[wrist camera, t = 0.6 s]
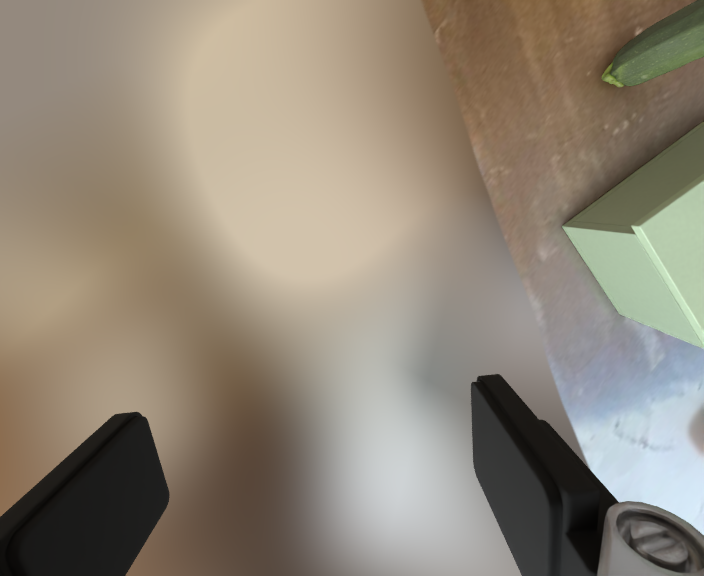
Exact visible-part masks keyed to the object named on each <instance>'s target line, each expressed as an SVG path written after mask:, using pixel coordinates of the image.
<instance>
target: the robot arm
mask: <svg viewBox="0 0 704 576" xmlns="http://www.w3.org/2000/svg"><path fill="white" fill-rule="evenodd" d="M471 402H472V403H471V404H472V436H473V462H474V469H475V473H476V476H477V478H478V481H479V483H480V485H481V487H482V489H483V491H484V494H485V496H486V498H487V500H488V502H489V504H490V507H491V509H492V511H493V513H494V516H495V518H496V519H497V522H498V524H499V526H500V529H501V531H502V533H503V535H504V537H505V540H506V542H507V544H508V546H509V548H510V551H511V553H512V555H513V557H514V559H515V561H516V564H517V566H518V568H519V570H520V572H521V575H522V576H704V535H702V534H701V533H700V532H699V531H698V530H697V529H695V528H694V527H693V526H692V525H691V524H689V523H688V522H686V521H684V520H683V519H681V518H680V517H678V516H676V515H675V514H673V513H671V512H668V511H666V510H664V509H662V508H659V507H657V506H653V505H650V504H646V503H642V502H632V501H626V502H620V503H619V502H618V501H617V500H616V499H615V497H614V496H613V495H612V494H611V493H610V492H609V491H608V490H607V488H606V487H605V486H604V485H603V484H602V483H601V482H600V481H599V479H598V478H597V477H596V476H595V475H594V474H593V473H592V472H591V470H590V469H589V468H588V467H587V466H586V465H585V464H584V463H583V461H582V460H581V459H580V458H579V457H578V456H577V455H576V454H575V453H574V452H573V451H572V449H571V448H570V447H569V446H568V445H567V444H566V442H565V441H564V440H563V439H562V438H561V437H560V436H559V435H558V433H557V432H556V431H555V430H554V429H553V428H552V427H551V426H550V424H548V423H547V422H546V421H544V420H539V419H537V417H536V416H535V415H534V414H533V412H532V411H531V410H530V409H529V408H528V406H527V405H526V404H525V403H524V402H523V401H522V399H521V398H520V397H519V396H518V395H517V394H516V393H515V391H514V390H513V389H512V388H511V387H510V386H509V384H508V383H507V382H506V381H505V380H504V379H503V377H502V376H501V375H499V374H495V375H485V376H479V377H477V382H472V383H471ZM168 502H169V490H168V487H167V483H166V480H165V477H164V473H163V470H162V467H161V463H160V460H159V457H158V453H157V450H156V447H155V443H154V440H153V437H152V433H151V430H150V427H149V423H148V421H147V419H146V418H145V417H143V416H142V415H141V414H140V413H138V412H132V413H122V414H115V415H114V416H112V417H111V418H110V419H109V420H108V421H107V422H105V423H104V424H103V425H102V426H101V427H100V428H99V429H98V430H97V431H95V432H94V433H93V434H92V435H91V436H90V437H89V438H88V439H87V440H85V441H84V442H83V443H82V444H81V445H80V446H79V447H78V448H77V449H75V450H74V451H73V452H72V453H71V454H70V455H69V456H68V457H67V458H65V459H64V460H63V461H62V462H61V463H60V464H59V465H58V466H56V467H55V468H54V469H53V470H52V471H51V472H50V473H49V474H48V475H47V476H45V477H44V478H43V479H42V480H41V481H40V482H39V483H38V484H37V485H35V486H34V487H33V488H32V489H31V490H30V491H29V492H28V493H27V494H25V495H24V496H23V497H22V498H21V499H20V500H19V501H18V502H16V504H14V505H13V506H12V507H11V508H10V509H9V510H8V511H6V512H5V513H4V514H3V515H2V516H1V517H0V576H125V575H126V573H127V572H128V570H129V569H130V567H131V565H132V564H133V562H134V560H135V559H136V557H137V555H138V554H139V552H140V550H141V549H142V547H143V545H144V544H145V542H146V540H147V539H148V537H149V535H150V534H151V532H152V530H153V529H154V527H155V525H156V524H157V522H158V520H159V519H160V517H161V515H162V514H163V512H164V511H165V509H166V507H167V505H168Z"/></svg>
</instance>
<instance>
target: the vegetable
mask: <svg viewBox="0 0 704 576" xmlns="http://www.w3.org/2000/svg"><path fill="white" fill-rule="evenodd" d="M702 57H704V0H697V1H695V2H693V3H691V4H690V5H688V6H686V7H684V8H682V9H681V10H679V11H677V12H675V13H673V14H672V15H670V16H668V17H666V18H664V19H662V20H661V21H659V22H657V23H655V24H654V25H652V26H650V27H649V28H647V29H646V30H645V31H643V32H642V33H641V34H639V35H638V36H636V37H635V38H634V39H632V40H631V41H629V42H628V43H627V44H626V45H624V46H623V47H622V48H621V49H620V50H619V52H618V53H617V54H616V56H615V58H614V60H613V62H612V63H611V64H610V65H609V66H608V68H607V69H606V71H605V72H604V73H603V75H602V80H604V81H605V82H609V83H610V84H614V85H616V86H617V87H623V86H624V85H626V86H634V85H638V84H641V83H644V82H646V81H648V80H650V79H653V78H655V77H657V76H660V75H662V74H665V73H667V72H670V71H672V70H674V69H677V68H679V67H681V66H683V65H685V64H687V63H689V62H691V61H694V60H696V59H699V58H702Z"/></svg>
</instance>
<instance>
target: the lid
mask: <svg viewBox="0 0 704 576" xmlns="http://www.w3.org/2000/svg"><path fill="white" fill-rule="evenodd" d="M631 227H632V229H633V230H634V232H635V234H636V235H637V237H638V238H639V240H640V242H641V243H642V245H643V247H644V248H645V250H646V252H647V253H648V255H649V257H650V258H651V260H652V261H653V263H654V265H655V266H656V268H657V270H658V271H659V273H660V275H661V276H662V278H663V280H664V281H665V283H666V284H667V286H668V288H669V289H670V291H671V293H672V294H673V296H674V298H675V299H676V301H677V303H678V304H679V306H680V307H681V309H682V311H683V312H684V314H685V316H686V317H687V319H688V321H689V322H690V324H691V326H692V327H693V329H694V330H695V332H696V334H697V335H698V337H699V339H700V340H701V342H702V344H703V345H704V174H702V175H701V176H700V177H698V178H697V179H695V180H694V181H693V182H691V183H690V184H688V185H687V186H686V187H684V188H683V189H681V190H680V191H679V192H677V193H676V194H674V195H673V196H672V197H670V198H669V199H667V200H666V201H665V202H663V203H662V204H660V205H659V206H658V207H656V208H655V209H654V210H652V211H651V212H649V213H648V214H647V215H645V216H644V217H642V218H641V219H640V220H638V221H637V222H635V223H634V224H633V225H631Z"/></svg>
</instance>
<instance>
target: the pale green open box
mask: <svg viewBox="0 0 704 576" xmlns="http://www.w3.org/2000/svg"><path fill="white" fill-rule="evenodd" d="M702 174H704V121H703V122H702V123H700V124H699V125H698V126H696V127H695V128H694V129H692V130H691V131H689V132H688V133H687V134H685V135H684V136H683V137H681V138H680V139H679V140H677V141H676V142H675V143H673V144H672V145H671V146H669V147H668V148H667V149H665V150H664V151H662V152H661V153H660V154H658V155H657V156H656V157H654V158H653V159H652V160H650V161H649V162H648V163H646V164H645V165H644V166H642V167H641V168H640V169H638V170H637V171H636V172H634V173H633V174H631V175H630V176H629V177H627V178H626V179H625V180H623V181H622V182H621V183H619V184H618V185H617V186H615V187H614V188H613V189H611V190H610V191H609V192H607V193H606V194H605V195H603V196H602V197H600V198H599V199H598V200H596V201H595V202H594V203H592V204H591V205H590V206H588V207H587V208H586V209H584V210H583V211H582V212H580V213H579V214H578V215H576V216H575V217H573V218H572V219H571V220H569V221H568V222H567V223H565V224H564V225H563V226H562V228H563V229H564V231H565V232H566V234H567V235H568V237H569V238H570V240H571V241H572V243H573V244H574V246H575V247H576V249H577V250H578V252H579V254H580V255H581V257H582V258H583V260H584V261H585V263H586V264H587V266H588V267H589V269H590V270H591V272H592V273H593V275H594V276H595V278H596V279H597V281H598V282H599V284H600V285H601V287H602V288H603V290H604V292H605V293H606V295H607V296H608V298H609V299H610V301H611V302H612V304H613V305H614V307H615V308H616V310H617V311H618V313H619V314H620V315H623V316H625V317H628V318H630V319H632V320H635V321H637V322H640V323H642V324H644V325H647V326H649V327H652V328H654V329H657V330H659V331H661V332H664V333H666V334H669V335H671V336H674V337H676V338H678V339H681V340H683V341H686V342H688V343H690V344H693V345H695V346H698V347H700V348H703V349H704V345H703V344H702V342H701V340H700V339H699V337H698V335H697V334H696V332H695V330H694V329H693V327H692V326H691V324H690V322H689V321H688V319H687V317H686V316H685V314H684V312H683V311H682V309H681V307H680V306H679V304H678V303H677V301H676V299H675V298H674V296H673V294H672V293H671V291H670V289H669V288H668V286H667V284H666V283H665V281H664V280H663V278H662V276H661V275H660V273H659V271H658V270H657V268H656V266H655V265H654V263H653V261H652V260H651V258H650V257H649V255H648V253H647V252H646V250H645V248H644V247H643V245H642V243H641V242H640V240H639V238H638V237H637V235H636V234H635V232H634V230H633V229H632V227H631V225H633V224H634V223H635V222H637V221H638V220H640V219H641V218H642V217H644V216H645V215H647V214H648V213H649V212H651V211H652V210H654V209H655V208H656V207H658V206H659V205H660V204H662V203H663V202H665V201H666V200H667V199H669V198H670V197H672V196H673V195H674V194H676V193H677V192H679V191H680V190H681V189H683V188H684V187H686V186H687V185H688V184H690V183H691V182H693V181H694V180H695V179H697V178H698V177H700V176H701V175H702Z"/></svg>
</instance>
